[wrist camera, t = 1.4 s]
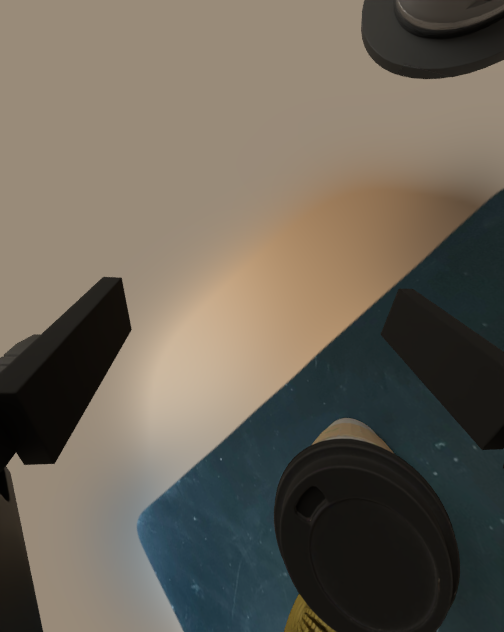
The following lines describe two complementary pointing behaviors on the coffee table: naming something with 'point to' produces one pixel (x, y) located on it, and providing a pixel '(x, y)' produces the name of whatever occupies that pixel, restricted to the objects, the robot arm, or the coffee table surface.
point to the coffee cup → (365, 535)
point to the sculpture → (304, 619)
